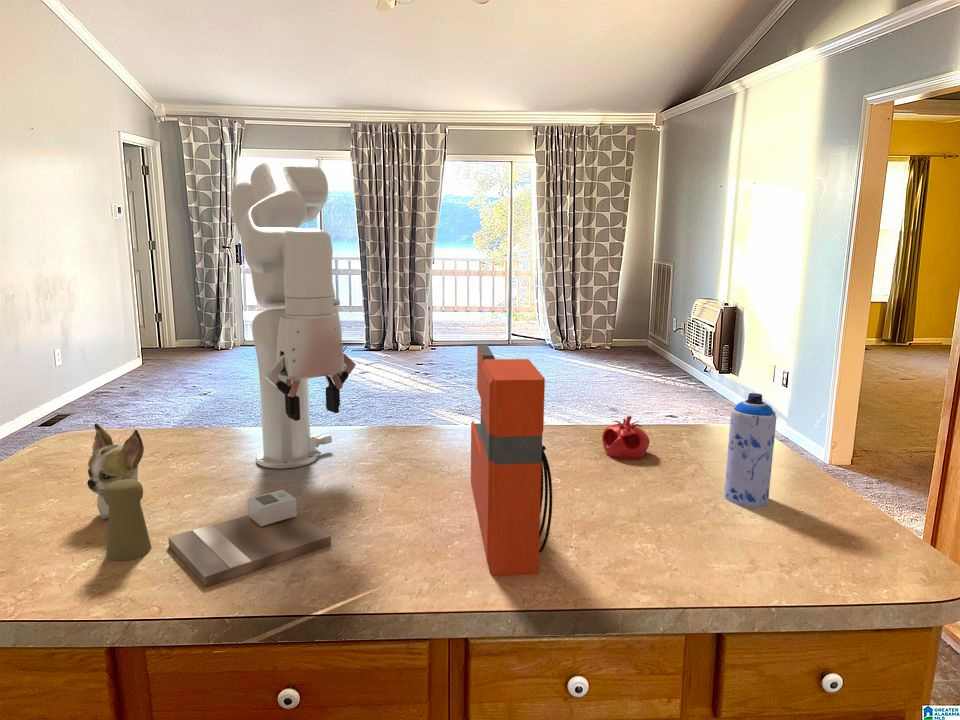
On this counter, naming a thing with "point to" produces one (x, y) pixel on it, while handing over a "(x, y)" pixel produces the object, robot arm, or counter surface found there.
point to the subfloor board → (245, 546)
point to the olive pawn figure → (126, 521)
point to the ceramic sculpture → (112, 463)
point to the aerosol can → (750, 452)
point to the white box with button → (271, 507)
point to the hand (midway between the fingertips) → (313, 414)
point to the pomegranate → (625, 440)
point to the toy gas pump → (510, 463)
